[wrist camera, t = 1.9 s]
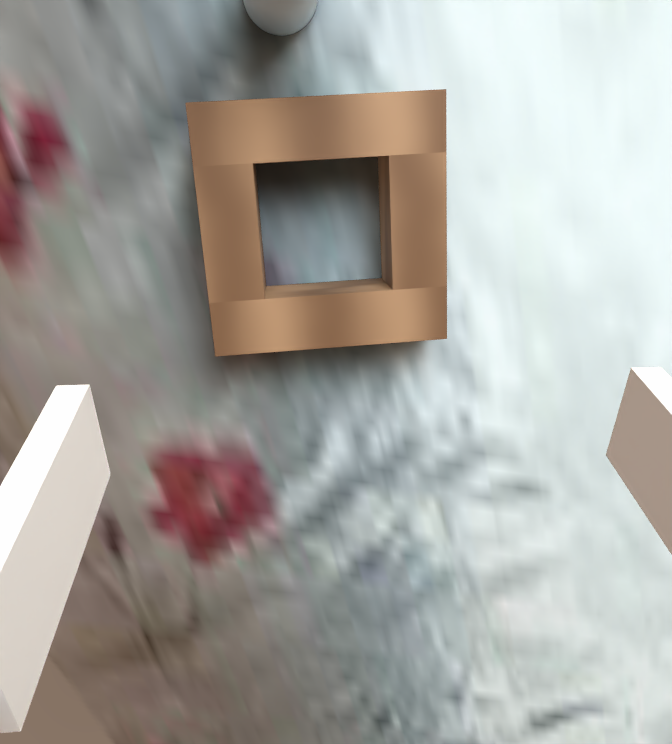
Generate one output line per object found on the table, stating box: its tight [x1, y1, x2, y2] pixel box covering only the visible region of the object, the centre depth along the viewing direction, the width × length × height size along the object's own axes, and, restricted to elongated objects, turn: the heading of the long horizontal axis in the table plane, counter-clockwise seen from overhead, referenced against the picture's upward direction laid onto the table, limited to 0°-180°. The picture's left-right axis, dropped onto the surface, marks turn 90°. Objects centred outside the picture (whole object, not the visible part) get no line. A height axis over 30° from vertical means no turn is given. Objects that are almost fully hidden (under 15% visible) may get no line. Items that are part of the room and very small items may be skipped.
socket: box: [186, 89, 447, 356], centre depth 36 cm, size 13×13×4 cm
